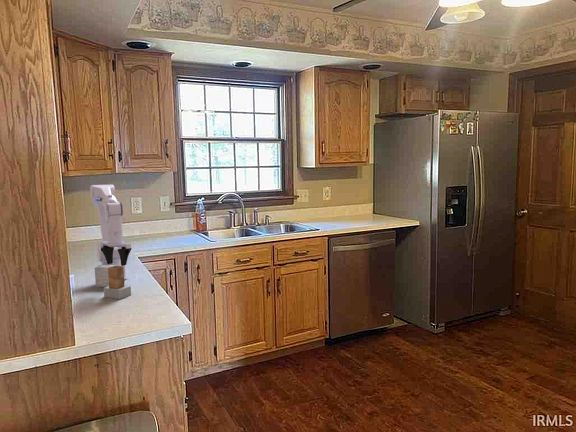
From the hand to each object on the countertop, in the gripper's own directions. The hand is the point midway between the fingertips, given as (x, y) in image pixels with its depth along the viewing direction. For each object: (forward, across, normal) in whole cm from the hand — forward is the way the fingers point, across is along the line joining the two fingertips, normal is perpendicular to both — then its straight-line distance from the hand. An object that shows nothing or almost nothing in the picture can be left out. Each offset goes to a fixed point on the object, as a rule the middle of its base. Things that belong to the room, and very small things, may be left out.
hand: (116, 264), depth 178 cm
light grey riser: (+11, +6, -7) cm, 14 cm away
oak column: (+7, +6, -7) cm, 12 cm away
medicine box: (+10, -8, +2) cm, 14 cm away
